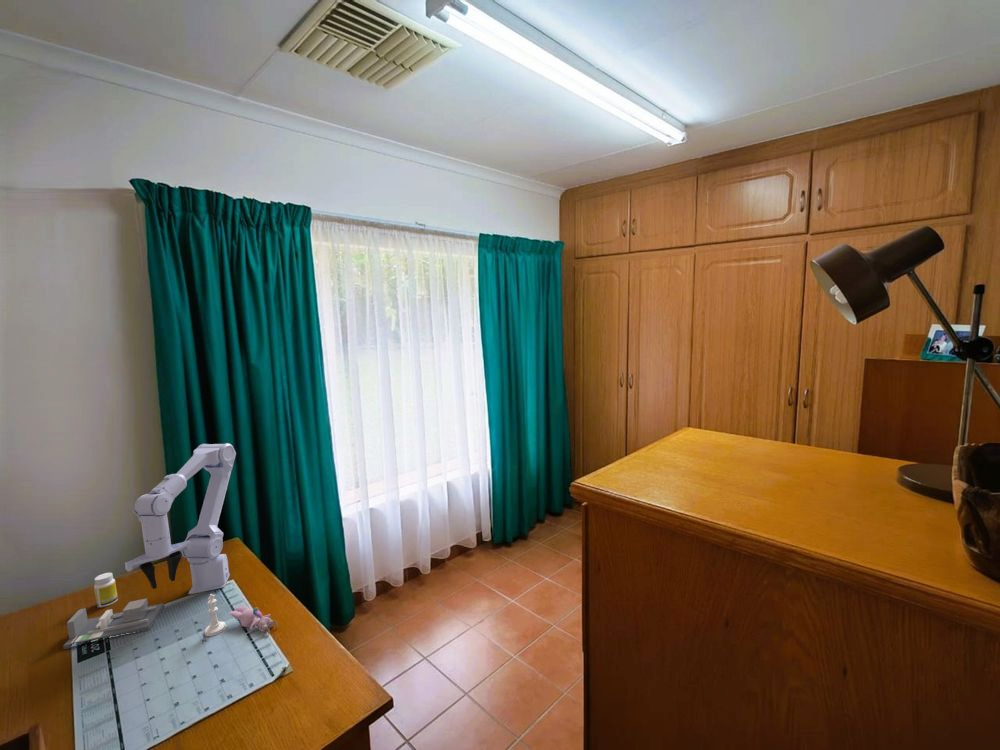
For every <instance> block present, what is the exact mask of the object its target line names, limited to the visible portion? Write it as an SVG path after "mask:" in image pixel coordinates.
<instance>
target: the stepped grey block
mask: <svg viewBox="0 0 1000 750" xmlns="http://www.w3.org/2000/svg"><path fill="white" fill-rule="evenodd" d="M148 606H149V604H148V598H141V599H138V600H133V601H128V603H127V604H126V605H125V607H124V608H123V609H122V611H121V612H123V613H120V612H119V613H120V614H115V613H114V614H115V615H111V617H110V619H115V618H120V617H123V619H124V624H125V623H129V622H134V621H138V620H143V619H144V617H145V616H146V614H147V613H148V611H149V609H148Z"/></svg>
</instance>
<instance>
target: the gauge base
mask: <svg viewBox="0 0 1000 750" xmlns="http://www.w3.org/2000/svg"><path fill="white" fill-rule="evenodd" d="M163 608H165V603H164V602H163V603H157V604H154V605H150V606H149V605H148V609H149V611H148V613H147V614H146V616H145V617H144V619H143V620H138V621H134V622H129V623H125V624H124V619H123V617H120V618H115V619H113V620H112V621H111V623H110V624H109V625H108V626H107V627H106V628H102V629H100V626H99V627H98V628H96V625H97V624H98V623H99V619H100V618H101V617H102V615H101V616H97V617H92V618H88V614H87V609H86V608H80V609H78V610H77V611H76V612H75V614H73V615H72V617H70V618H69V620H68V621H67V622H66V628H67V633H68V639H67V640H66V642H65V643H64V644H63V645H62V647H63V650H66V649H71V646H72V644H74V643H78V642H79V643H80V642H84V641H89V640H95V639H100V638H107V637H110V636H116V635H121V634H126V633H133V632H138V631H142V632H146V631H150V629H151V628H152V626H153V625H154V623H155V621H156V620H157V618H158V617H159V615H160V614H161V612H162V610H163ZM120 613H123V612H122V611H120V612H116V613H115V612H114V613H113V615H115V614H120ZM145 630H146V631H145ZM138 633H139V632H138ZM133 634H134V633H133Z"/></svg>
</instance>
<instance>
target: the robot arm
mask: <svg viewBox="0 0 1000 750" xmlns="http://www.w3.org/2000/svg"><path fill="white" fill-rule="evenodd" d="M236 456H237V452H236V450H235V448H234V446H233V445H232V444H231V443H229V442H226V443H213V444H211V443H210V444H209V443H202V444H200V445H198V446H197V447H196V448H195V449H194V450H193V453H192V456H191V457H190V458H189V459H188V460H187V462H186V463H184V465H183V466H182V467H181V468H180V469H179V470H178V471H177V472H176V473H171V474H167V475H166V476H164V477H163V479H162V480H161V481H160V482H159V483H158V484H157V485H156V486H155V487H153V488H152V489H151V491H150V492H148V493H146V494H143V495H141V496H139V497H138V498H137V499H136V500H135V502H134V507H133V508H132V512H133V514H134V515H135V516H137V517H138V522H140V524H141V532H142V539H143V545H144V552H145V553H144V554H141V555H139V556H138V557H135V558H133V559H132V560H129V561H126V562H124V566H125V567H124V568H125V570H126V572H128V573H129V572H132V571H133V570H134V569H136V568H139V569H140V571H142V572H143V574H144V575H145V576H146V578H147V580H148V582H149V584H150V588H152V589H153V590H155V589H157V585H158V584H157V581H156V573H155V571H156V568H155V566H154V565H153V563H152V562H156V561H159V560H160V559H161V560H162V559H164V558H166V559H165V560H166V565H167V569H168V578H169V580H170V581H171V582H174V581H175V580H176V574H177V569H178V567H179V565H180V562H181V560H182V557H183V558H185V559H187V560H186V561H187V562H189V568H190V574H191V581H192V583H191V584H192V586H191V588H190V589H189V591H188V593H187V594H188V595H189V596H191V595H194V594H199V593H203V592H207V591H214V590H217V589H218V590H219V589H222V588H225V587H226V584H227V582H228V580H229V578H230V575H231V574H230V570H229V560H228V556H227V554H226V553H221V552H222V550H223V546H224V542H223V537H224V532H223V531H222V530H221V529H220V528H219V527H218V524H219V520H220V516H221V513H222V509H223V505H224V501H225V497H226V493H227V490H228V486H229V481H230V478H231V473H232V470H233V467H234V462H235V459H236ZM202 469H204V470H205V471H207V472H209V474H210V478H209V480H208V481H209V482H208V485H207V488H206V493H205V496H204V499H203V504H202V507H201V510H200V514H199V519H198V521H197V525H196V526H195V527H193V528H192V529H191V530H189V531H188V532H187V535H186V538H185V540H184V541H182V542H178V543H175V544H174V543H173V544H172V542H171V534H170V527H169V519H168V513H169V511H170V510H171V507H172V504H173V502H174V501H175V498H177V496H179V494H181V492H183V491H184V490H185V489H186V488H187V486H188V485H187V484H188V483H187V482H188V480H190V479H191V478H192V477H193V476H194V475H196V474H197V473H198V472H199V471H200V470H202Z"/></svg>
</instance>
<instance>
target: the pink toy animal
mask: <svg viewBox="0 0 1000 750" xmlns="http://www.w3.org/2000/svg"><path fill="white" fill-rule="evenodd" d="M229 614H230V615H231V616H232V617H233V618H234V619H236V620H238V621H239V622H240V625H241V626H242V627H243V628H249V630H250V631H252V630H253V627H256V628H257V627H258V630H259V631H260V632H261V633H266V632H267V634H270V632H271V633H272V631H271V628H272V627H273V626H274V624H275V629H277V628H278V627H279V624H278V622H277V621H276V620H275V619H274V620H273V619H271V614H270V613H269V614H266V615H263V614H262V612H261V610H259V607H254V608H249V606H245V605H241V606H237V607H235V608H234V610H232V611H229Z"/></svg>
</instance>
